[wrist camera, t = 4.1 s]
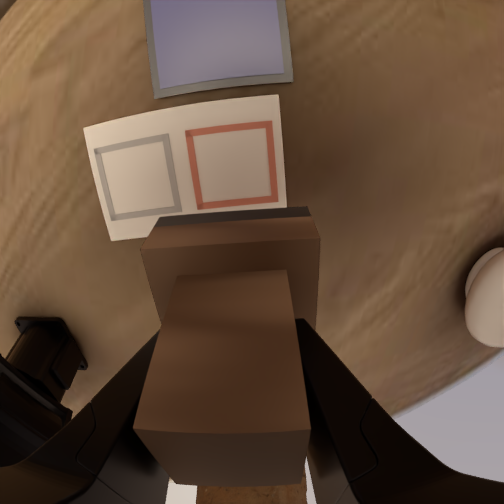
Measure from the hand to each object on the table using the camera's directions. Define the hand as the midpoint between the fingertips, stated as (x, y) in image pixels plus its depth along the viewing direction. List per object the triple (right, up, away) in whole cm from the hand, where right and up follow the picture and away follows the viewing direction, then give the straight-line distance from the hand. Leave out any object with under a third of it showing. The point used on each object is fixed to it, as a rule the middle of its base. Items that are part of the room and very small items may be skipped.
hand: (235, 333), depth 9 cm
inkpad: (-1, +15, +6) cm, 16 cm away
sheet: (-4, +7, +10) cm, 13 cm away
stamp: (0, +1, +3) cm, 3 cm away
